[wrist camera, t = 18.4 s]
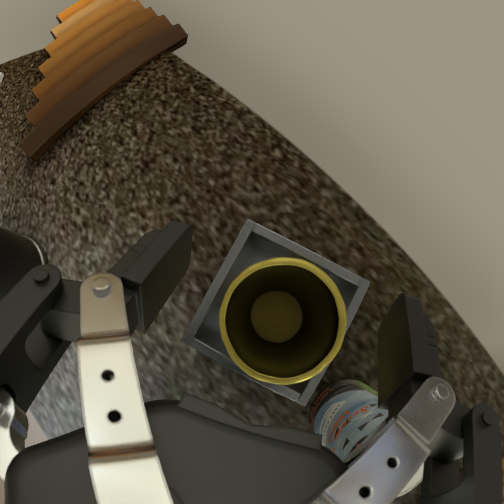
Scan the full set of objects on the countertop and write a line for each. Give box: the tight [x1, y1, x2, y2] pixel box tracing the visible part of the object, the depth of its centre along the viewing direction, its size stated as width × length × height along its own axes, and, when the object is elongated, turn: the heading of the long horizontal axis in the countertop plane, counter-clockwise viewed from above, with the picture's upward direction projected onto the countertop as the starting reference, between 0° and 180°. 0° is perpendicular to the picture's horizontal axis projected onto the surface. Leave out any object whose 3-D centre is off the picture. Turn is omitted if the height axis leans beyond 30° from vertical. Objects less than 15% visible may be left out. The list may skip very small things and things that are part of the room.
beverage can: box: [310, 379, 424, 498], centre depth 19 cm, size 6×7×12 cm
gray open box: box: [181, 219, 370, 406], centre depth 24 cm, size 10×10×6 cm
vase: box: [219, 257, 347, 385], centre depth 20 cm, size 6×6×14 cm
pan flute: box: [20, 0, 188, 161], centre depth 33 cm, size 25×3×25 cm
